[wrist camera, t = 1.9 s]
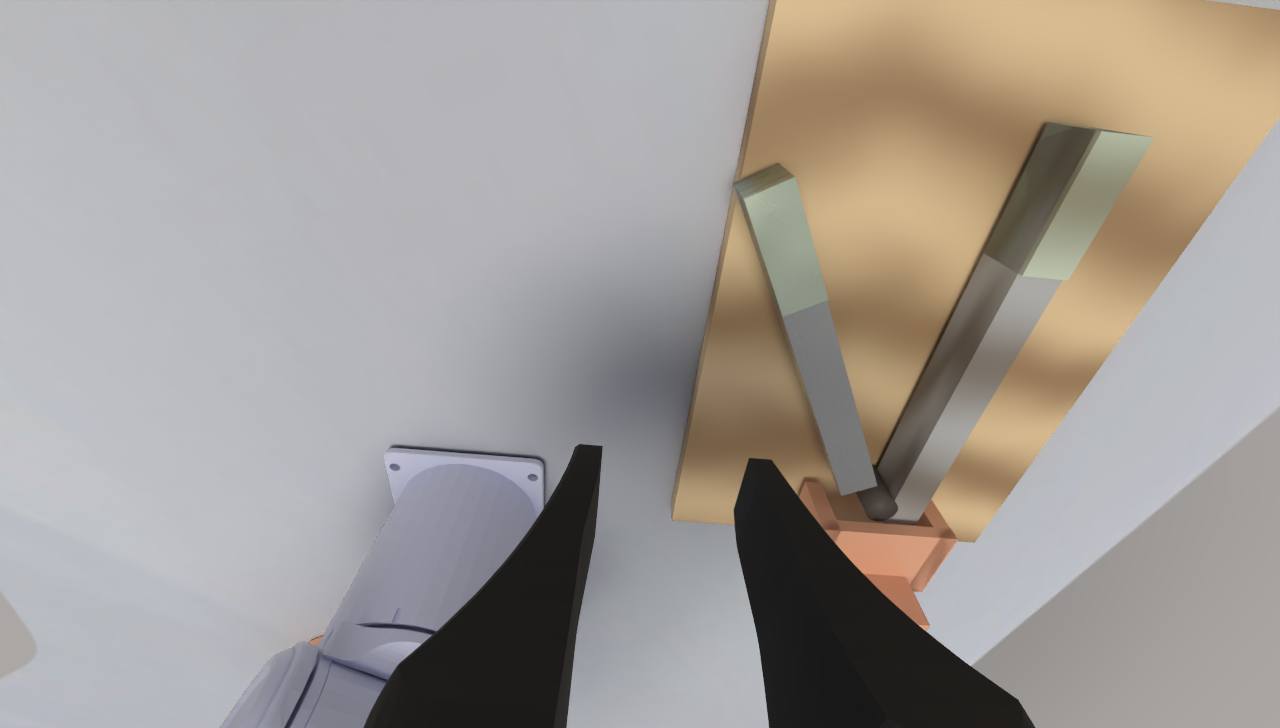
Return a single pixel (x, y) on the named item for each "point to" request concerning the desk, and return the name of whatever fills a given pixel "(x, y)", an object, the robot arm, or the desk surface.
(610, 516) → the desk surface
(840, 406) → the tong arm
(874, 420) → the tongs board
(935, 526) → the collar
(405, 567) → the robot arm
